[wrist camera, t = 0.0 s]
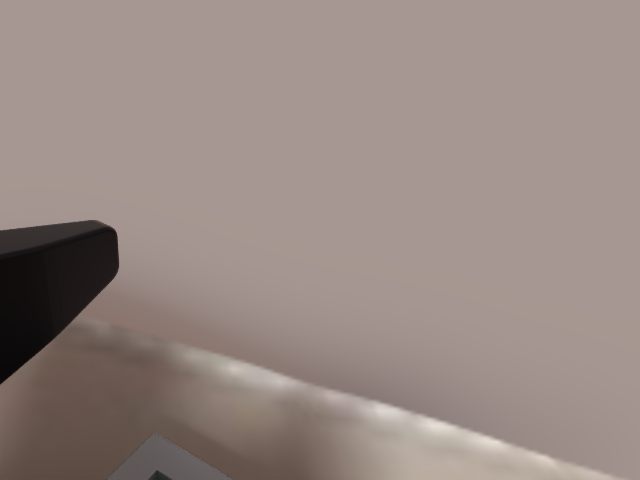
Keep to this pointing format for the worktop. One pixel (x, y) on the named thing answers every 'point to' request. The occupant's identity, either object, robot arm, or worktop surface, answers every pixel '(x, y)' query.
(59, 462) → the worktop surface
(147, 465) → the grey rectangular box
